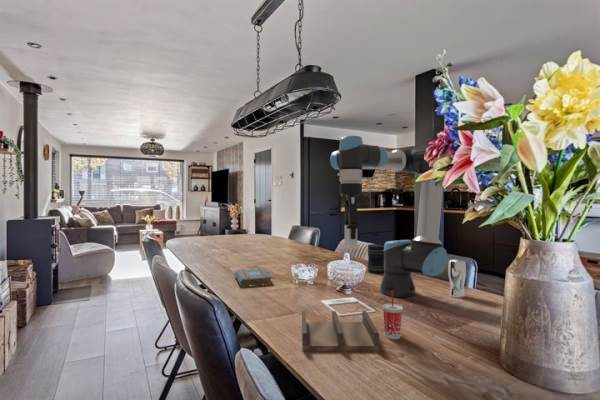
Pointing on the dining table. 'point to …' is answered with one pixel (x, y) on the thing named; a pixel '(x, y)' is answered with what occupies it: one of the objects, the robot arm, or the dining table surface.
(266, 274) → the book
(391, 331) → the beverage cup
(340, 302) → the photo frame
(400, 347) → the dining table surface
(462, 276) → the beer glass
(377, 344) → the divided wooden tray
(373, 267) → the storage jar
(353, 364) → the dining table surface
